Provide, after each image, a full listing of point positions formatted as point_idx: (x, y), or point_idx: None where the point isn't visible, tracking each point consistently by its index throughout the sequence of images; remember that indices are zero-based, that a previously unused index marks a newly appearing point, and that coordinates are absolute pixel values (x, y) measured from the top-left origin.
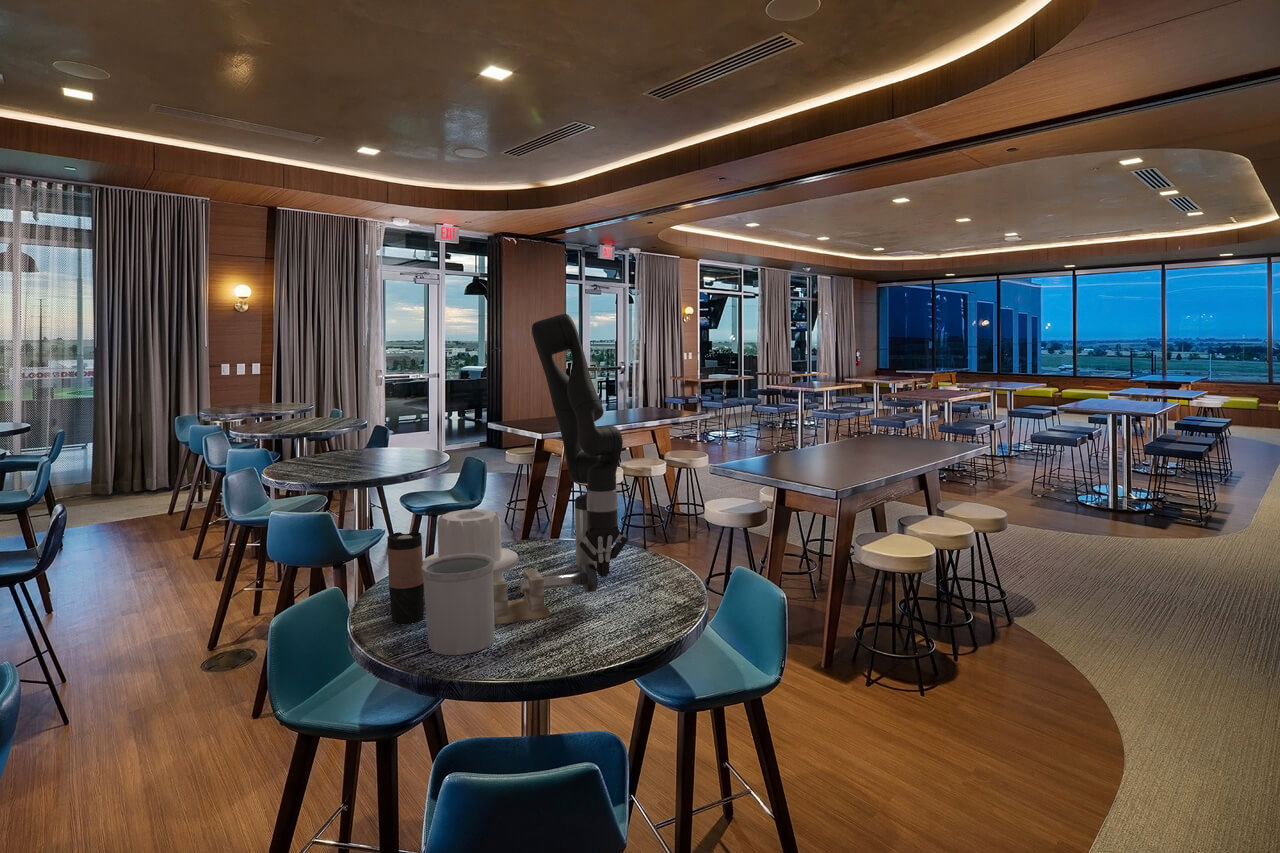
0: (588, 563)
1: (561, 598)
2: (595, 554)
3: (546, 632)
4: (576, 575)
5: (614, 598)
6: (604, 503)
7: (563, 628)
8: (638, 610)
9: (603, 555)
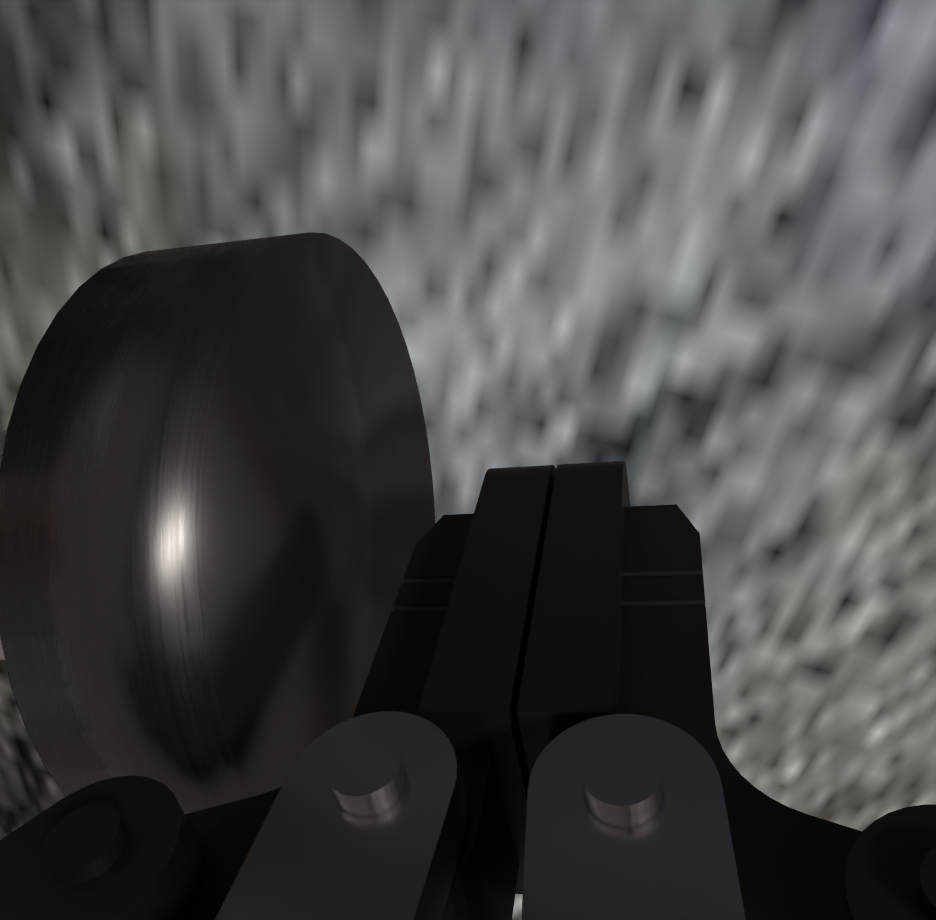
0: (119, 738)
1: (3, 11)
2: (222, 908)
3: (44, 785)
4: (2, 655)
5: (793, 229)
6: None
7: None
8: (916, 678)
9: (558, 906)
